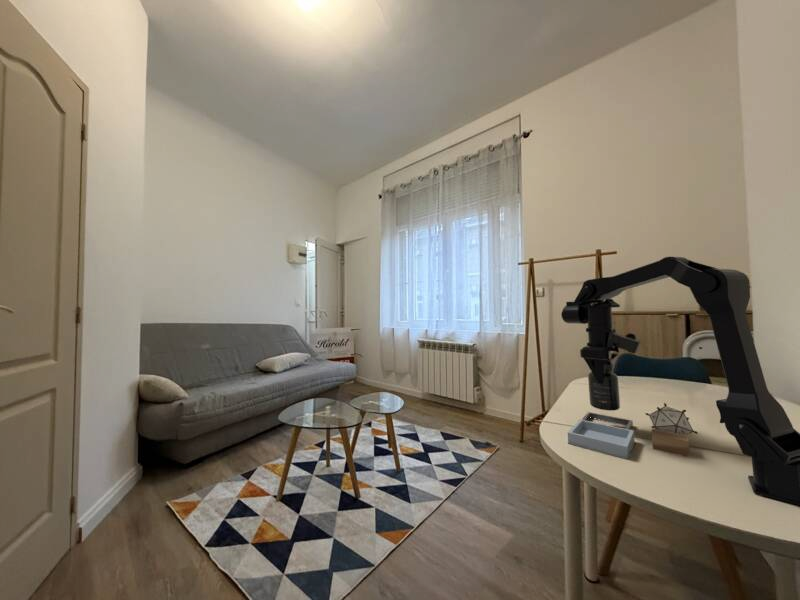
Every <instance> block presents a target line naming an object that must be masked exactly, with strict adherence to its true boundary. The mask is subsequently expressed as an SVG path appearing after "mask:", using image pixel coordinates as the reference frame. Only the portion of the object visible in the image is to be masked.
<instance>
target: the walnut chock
mask: <svg viewBox="0 0 800 600" xmlns="http://www.w3.org/2000/svg"><path fill="white" fill-rule="evenodd" d="M689 441H690V440H689V437H688V435H684V434H678V433H673V432H667V431H662V430H657V429H655V428H651V442H652V450H655V451H660V452H661V451H662V452H664V453H665V452H666V453H670V454H674V455H678V456H682V457H688V458H690V457H691V456H690V442H689Z"/></svg>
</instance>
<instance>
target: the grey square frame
mask: <svg viewBox="0 0 800 600" xmlns="http://www.w3.org/2000/svg"><path fill="white" fill-rule="evenodd" d="M590 417H591V418H590ZM589 418H590V419H592V418H596V419H595V420H597V419H600V420H599V421H602V420H604V421H603V422H607V421H608V422H607V423H613V424H618V425H622V426H625V429H628V430H633V427H634V424H633V423H634V421H633V420H631V419H626V418H622V417H616V416H611V415H605V414H600V413H597V412H596V413H594V412H590V411H588V412H587V413H586V414H584V416H583V417H582V418H581V419H580V420H585V421H590V419H589Z"/></svg>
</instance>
